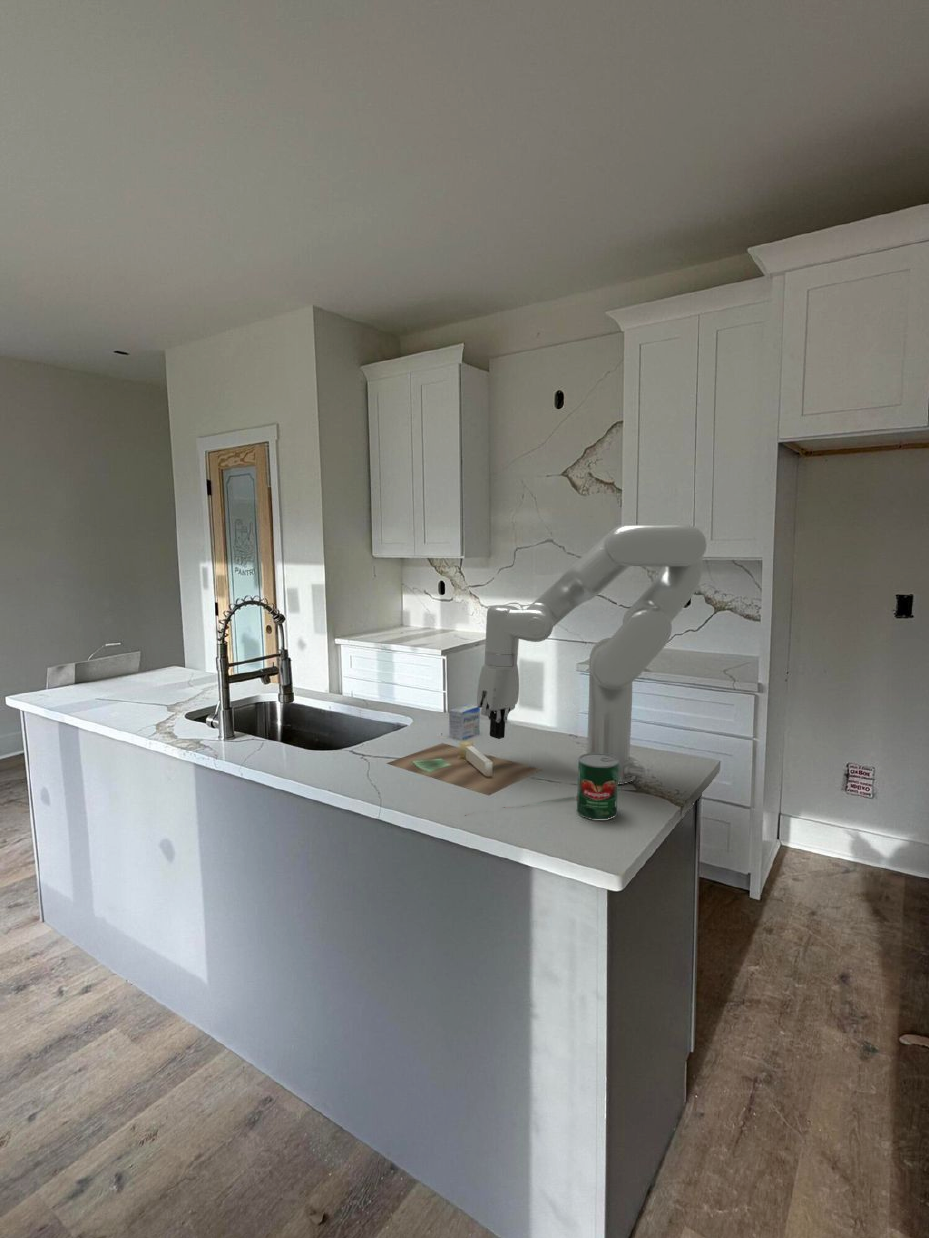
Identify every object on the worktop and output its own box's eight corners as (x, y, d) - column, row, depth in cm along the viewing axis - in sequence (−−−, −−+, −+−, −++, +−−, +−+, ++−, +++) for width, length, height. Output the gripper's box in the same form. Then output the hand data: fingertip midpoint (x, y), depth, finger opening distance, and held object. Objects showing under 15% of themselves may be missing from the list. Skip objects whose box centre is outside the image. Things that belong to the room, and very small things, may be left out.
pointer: (458, 755, 166) (458, 741, 165) (470, 753, 167) (470, 740, 166) (483, 777, 151) (483, 762, 150) (496, 775, 152) (496, 760, 152)
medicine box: (462, 744, 179) (462, 712, 178) (448, 741, 181) (448, 709, 180) (479, 737, 185) (480, 706, 184) (466, 734, 188) (466, 703, 187)
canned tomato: (587, 823, 132) (588, 767, 130) (570, 807, 139) (571, 754, 138) (624, 818, 134) (626, 764, 132) (605, 803, 141) (607, 751, 140)
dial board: (541, 774, 158) (541, 768, 157) (488, 800, 142) (489, 794, 142) (442, 747, 176) (442, 742, 176) (386, 768, 161) (386, 762, 161)
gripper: (509, 653, 165) (505, 727, 168) (466, 660, 154) (462, 739, 157) (534, 658, 160) (529, 734, 163) (491, 666, 149) (487, 747, 152)
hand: (496, 736), depth 160 cm, fingers closed
